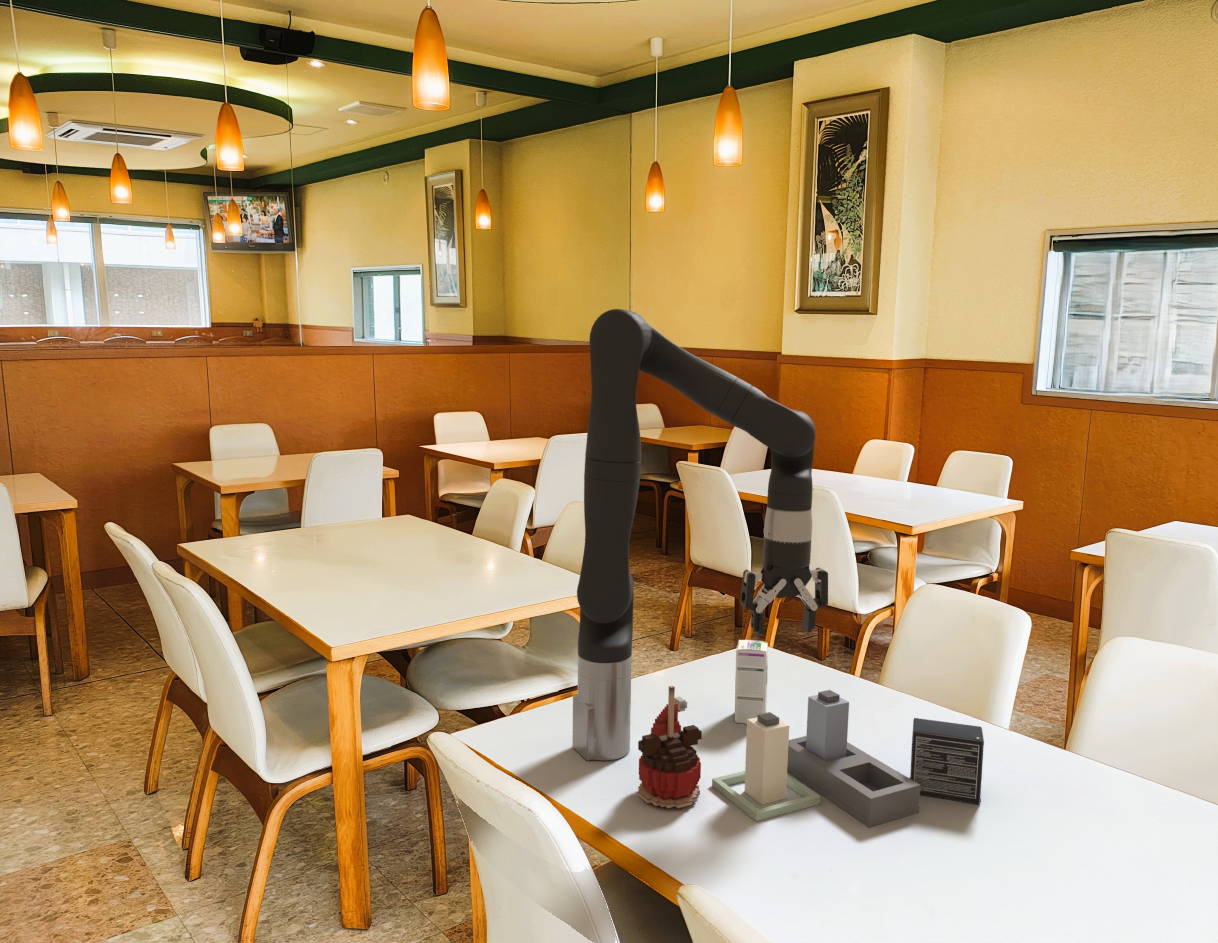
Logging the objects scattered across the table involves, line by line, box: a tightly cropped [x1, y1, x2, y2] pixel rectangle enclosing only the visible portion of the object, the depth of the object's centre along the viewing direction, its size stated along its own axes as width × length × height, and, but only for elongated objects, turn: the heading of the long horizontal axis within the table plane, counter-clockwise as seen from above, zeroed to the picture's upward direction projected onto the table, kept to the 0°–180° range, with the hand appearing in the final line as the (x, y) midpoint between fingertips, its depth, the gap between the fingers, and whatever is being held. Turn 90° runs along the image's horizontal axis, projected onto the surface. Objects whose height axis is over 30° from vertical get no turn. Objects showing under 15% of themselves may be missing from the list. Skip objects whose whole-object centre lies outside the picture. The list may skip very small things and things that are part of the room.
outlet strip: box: [787, 735, 921, 828], centre depth 144 cm, size 10×21×4 cm, turn 27°
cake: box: [637, 685, 703, 809], centre depth 140 cm, size 11×9×18 cm
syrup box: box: [734, 639, 769, 725], centre depth 170 cm, size 6×6×14 cm
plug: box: [744, 711, 790, 805], centre depth 141 cm, size 5×5×13 cm
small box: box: [909, 717, 985, 805], centre depth 144 cm, size 11×6×10 cm, turn 71°
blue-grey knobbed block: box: [805, 689, 850, 762], centre depth 148 cm, size 5×5×13 cm
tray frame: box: [711, 770, 821, 822], centre depth 142 cm, size 12×12×1 cm
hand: (782, 632), depth 148 cm, fingers open, 8 cm apart
